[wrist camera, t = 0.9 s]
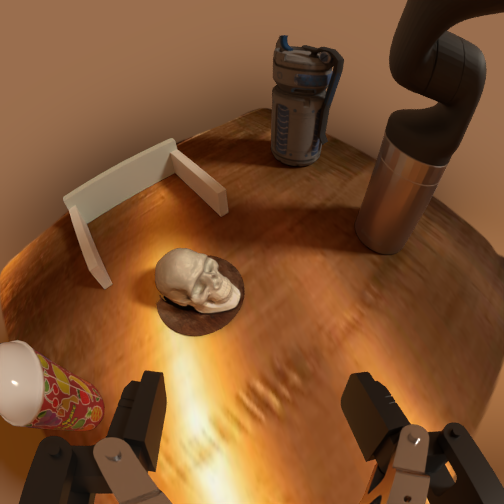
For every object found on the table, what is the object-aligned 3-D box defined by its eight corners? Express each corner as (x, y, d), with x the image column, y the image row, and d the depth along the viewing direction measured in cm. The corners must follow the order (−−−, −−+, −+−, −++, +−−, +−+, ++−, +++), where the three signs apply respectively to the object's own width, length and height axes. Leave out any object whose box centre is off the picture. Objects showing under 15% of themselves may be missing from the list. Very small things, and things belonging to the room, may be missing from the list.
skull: (260, 261, 38) (240, 272, 28) (240, 328, 39) (215, 358, 29) (184, 236, 40) (144, 238, 30) (169, 299, 41) (130, 318, 31)
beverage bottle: (308, 182, 49) (325, 49, 29) (258, 152, 55) (257, 36, 34) (338, 162, 53) (358, 48, 33) (289, 137, 59) (296, 33, 39)
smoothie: (79, 445, 22) (-47, 422, 6) (55, 391, 26) (-57, 334, 10) (125, 422, 25) (-2, 389, 9) (97, 366, 29) (-14, 291, 13)
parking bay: (178, 166, 53) (171, 137, 47) (228, 212, 44) (224, 178, 39) (78, 223, 44) (62, 197, 39) (104, 289, 36) (82, 262, 30)
